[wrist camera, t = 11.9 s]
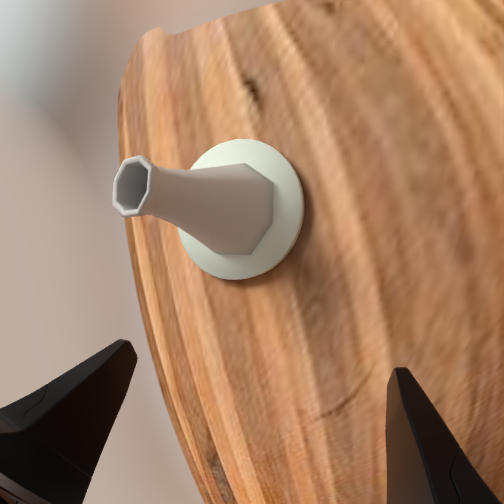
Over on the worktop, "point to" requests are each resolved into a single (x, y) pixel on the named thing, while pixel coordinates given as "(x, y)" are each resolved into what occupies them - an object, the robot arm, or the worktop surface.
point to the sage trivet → (284, 211)
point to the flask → (200, 201)
